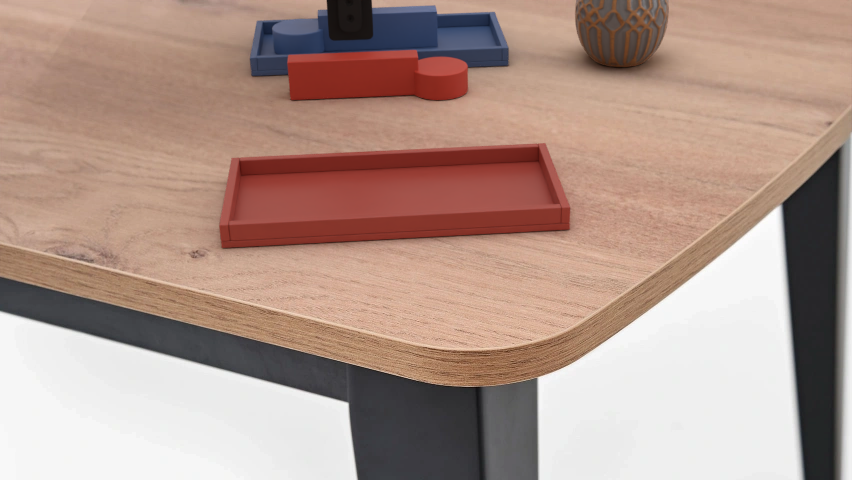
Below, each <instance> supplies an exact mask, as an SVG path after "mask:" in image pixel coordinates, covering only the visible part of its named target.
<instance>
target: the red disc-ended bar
mask: <svg viewBox="0 0 852 480" xmlns="http://www.w3.org/2000/svg"><path fill="white" fill-rule="evenodd" d="M287 65H288V75H287V76H288V87H289V99H290V100H291V101H302V100H305V101H306V100H322V99H323V100H326V99H327V100H328V99H349V98H371V97H375V98H376V97H396V96H397V97H398V96H416V97H418V98H421V99H424V100H430V101H447V100H454V99H458V98H460V97H462V96H465V95H466V94H467V93H468V91H469V69H468V68H469V67H468V65H467V64H466V62H464V61H462V60H460V59H456V58H451V57H430V58H424V59H421V60H418V54H417V50H399V51H374V52H349V53H324V54H299V55H288V61H287Z"/></svg>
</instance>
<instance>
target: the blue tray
mask: <svg viewBox="0 0 852 480" xmlns="http://www.w3.org/2000/svg"><path fill="white" fill-rule="evenodd" d="M291 19H292V18H291ZM291 19H266V20H265V19H264V20H262V19H261V20H256V23H255V27H254V33H253V39H252V44H251V49H250V56H249V64H250V73H251V77H260V76H261V77H263V76H286V75H287V76H288V65H287V61H288V55H299V54H287V55H279V54H277V53H276V52H275V51H274V43H273V32H272V28H273V26H274V25H275V24H277V23H279V22H282V21H286V20H291ZM312 19H313V20H318V17H316V18H312ZM437 31H438V47H418V48H394V49H370V50H345V51H324V52H322V53H312V54H324V53H349V52H374V51H399V50H417V54H418V60H421V59H424V58H430V57H451V58H456V59H460V60H462V61H464V62H466V64H467V65H468V68H479V67H504V66H509V65H510V64H509V62H510V61H509V59H510V54H509V53H510V49H509V45H508V43H507V40H506V37H505V34H504V32H503V29H502V28H501V23H500V22H499V20H498V17H497V14H496V11H480V12H479V11H478V12H477V11H476V12H475V11H474V12H452V13H451V12H450V13H437Z"/></svg>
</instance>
